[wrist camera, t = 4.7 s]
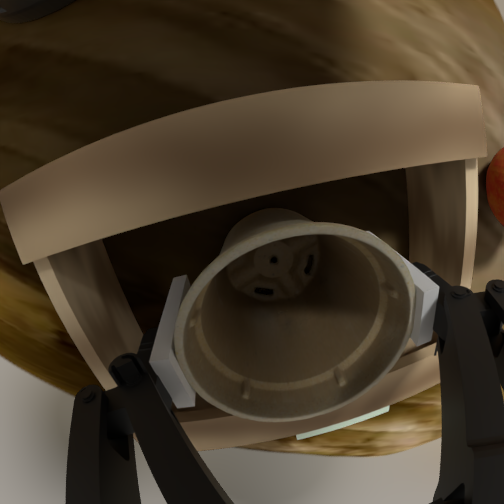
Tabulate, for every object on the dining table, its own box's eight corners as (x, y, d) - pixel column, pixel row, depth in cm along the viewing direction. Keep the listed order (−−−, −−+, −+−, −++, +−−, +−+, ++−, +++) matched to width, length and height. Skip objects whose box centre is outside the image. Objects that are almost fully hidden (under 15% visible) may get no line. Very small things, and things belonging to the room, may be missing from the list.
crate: (65, 169, 15) (-3, 191, 9) (405, 93, 15) (478, 85, 9) (159, 386, 22) (148, 453, 16) (414, 322, 22) (457, 373, 16)
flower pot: (215, 332, 20) (215, 437, 12) (174, 200, 16) (132, 263, 8) (346, 302, 20) (403, 389, 12) (334, 167, 17) (422, 200, 9)
